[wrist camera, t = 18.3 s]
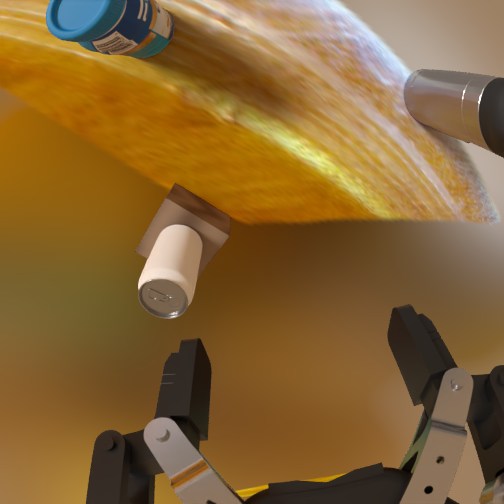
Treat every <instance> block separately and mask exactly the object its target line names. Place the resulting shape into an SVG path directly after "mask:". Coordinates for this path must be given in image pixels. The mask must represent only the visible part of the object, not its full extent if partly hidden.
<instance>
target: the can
mask: <svg viewBox="0 0 504 504" xmlns="http://www.w3.org/2000/svg"><path fill="white" fill-rule="evenodd" d="M201 254H202V241H201V238H200V236H199V235H198V234H197V232H196V231H194V230H193V229H192V228H190V227H188V226H185V225H171V226H168V227H166V228H165V229H164V230H163V231H162V232H161V233H160V235H159V236H158V238H157V240H156V243H155V245H154V247H153V249H152V251H151V253H150V256H149V258H148V260H147V262H146V265H145V267H144V269H143V272H142V274H141V277H140V279H139V283H138V289H139V292H138V298H139V301H140V304H141V305H142V307H143V308H144V309H145V310H146V311H147V312H149V313H150V314H152V315H154V316H157V317H160V318H166V319H169V318H175V317H178V316H180V315H182V314H183V313H184V312H185V311H186V309H187V307H188V305H189V304H190V303H191V301H192V298H193V295H194V291H195V285H196V280H197V275H198V270H199V264H200V259H201Z"/></svg>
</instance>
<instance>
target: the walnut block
mask: <svg viewBox="0 0 504 504" xmlns="http://www.w3.org/2000/svg"><path fill="white" fill-rule="evenodd" d="M230 222H231V217H230V216H228V215H226V214H225V213H223V212H222V211H220V210H218V209H217V208H215V207H214V206H212V205H210V204H209V203H207V202H205V201H204V200H202V199H201V198H199V197H197V196H196V195H194V194H192V193H191V192H189V191H188V190H186V189H184V188H183V187H181V186H179V185H178V184H176V183H175V184H174V186H173V187H172V189H171V190H170V192H169V194H168V195H167V197H166V199H165V200H164V202H163V204H162V205H161V207H160V209H159V210H158V212H157V214H156V216H155V217H154V219H153V221H152V223H151V224H150V226H149V228H148V230H147V231H146V233H145V235H144V237H143V238H142V240H141V242H140V244H139V246H138V248H137V250H136V252H137V253H138V254H140V255H142V256H144V257H145V258H147V259H148V258H149V256H150V253H151V251H152V249H153V247H154V245H155V243H156V240H157V238H158V236H159V235H160V233H161V232H162V231H163V230H164V229H165V228H166V227H168V226H171V225H185V226H188V227H190V228H192V229H193V230H194V231H196V232H197V234H198V235H199V236H200V238H201V241H202V254H201V259H200V264H199V270H198V275H197V278H198V277H199V275H200V274H201V273H202V271H203V270H204V269H205V267H206V266H207V265H208V264H209V262H210V261H211V260H212V258H213V257H214V256H215V254H216V253H217V252H218V250H219V249H220V248H221V246H222V245H223V244H224V243H225V241H226V240H227V239H228V238H229V236H230Z"/></svg>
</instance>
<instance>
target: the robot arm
mask: <svg viewBox="0 0 504 504" xmlns="http://www.w3.org/2000/svg"><path fill="white" fill-rule="evenodd" d="M404 99H405V104H406V106H407V109H408V111H409V112H410V114H411V115H412V116H413V118H414V119H416V120H417V121H418V122H420V123H422V124H425V125H428V126H430V127H432V128H433V129H434V130H437V131H440V132H442V133H445V134H447V135H450V136H452V137H455V138H457V139H459V140H462V141H464V142H467V143H470V142H471V143H473V144H476V145H478V146H480V147H482V148H485V149H487V150H489V151H491V152H493V153H495V154H497V155H499V156H501V157H503V158H504V78H501V77H495V76H489V75H481V74H474V73H466V72H456V71H444V70H428V69H421V70H417V71H416V72H414V73H412V74H411V75H410V76H409V78H408V80H407V82H406V84H405V89H404ZM388 342H389V346H390V348H391V350H392V352H393V355H394V357H395V360H396V362H397V364H398V367H399V369H400V371H401V374H402V376H403V379H404V381H405V384H406V386H407V389H408V391H409V394H410V397H411V399H412V402H413V404H414V406H416V405H419V404H423V406H424V411H423V413H422V416H421V419H420V422H419V424H418V427H417V430H416V432H415V435H414V438H413V440H412V443H411V445H410V447H409V450H408V451H407V453H406V455H405V457H404V458H403V460H402V462H401V464H400V467H399V469H396V468H387V467H383V466H382V463H378V464H375V465H371V466H368V467H364V468H360V469H356V470H353V471H351V472H349V473H347V474H345V475H343V476H341V477H338V478H336V479H334V480H332V481H329V482H311V481H289V482H280V483H270V484H268V485H269V488H268V489H265V490H262V491H260V492H258V493H256V494H254V495H252V496H251V497H249V498H248V499H247V500H245V501H244V500H243V499H242V498H241V497H240V496H239V495H238V494H237V493H236V492H235V490H234V489H233V488H232V487H231V486H230V485H229V484H228V483H227V482H226V481H225V480H224V479H223V478H222V477H221V476H220V475H219V473H218V472H217V471H216V470H215V469H214V467H213V466H212V465H211V464H210V463H209V462H208V460H207V459H206V458H205V457H204V455H203V454H202V453H201V452H200V451H199V443H200V441H201V440H202V441H203V440H208V424H209V423H208V422H209V406H210V390H211V374H212V373H211V372H212V371H211V363H210V360H209V357H208V355H207V353H206V350H205V348H204V346H203V343H202V341H201V339H200V338H196V339H185V340H182V341H181V344H180V350H179V353H171V355H170V356H169V358H168V360H167V361H166V362H165V366H164V371H163V376H162V381H161V383H162V384H161V386H160V392H159V397H158V403H157V409H156V414H155V417H154V420H152V421H151V422H150V423H149V424H148V425H147V426H146V428H145V429H143V430H141V431H138V432H134V433H130V434H126V435H121V434H120V433H119V432H117V431H114V430H108V431H105V432H103V433H101V434H100V435H99V436H98V437H97V439H96V441H95V445H94V451H93V456H92V462H91V469H90V476H89V484H88V491H87V499H86V504H154V490H155V475H156V474H160V473H164V472H165V473H166V475H167V476H168V478H169V479H170V481H171V486H172V488H173V490H174V492H175V493H176V494H177V496H178V497H179V498H180V500H181V501H182V502H183V504H459V503H457V502H456V501H454V500H452V499H450V498H449V497H447V495H448V493H449V491H450V488H451V485H452V483H453V480H454V477H455V474H456V471H457V468H458V465H459V462H460V459H461V456H462V453H463V449H464V445H465V442H466V438H467V431H466V430H465V428H464V427H465V423H466V422H467V423H468V426H469V429H470V432H471V435H472V438H473V441H474V444H475V447H476V451H477V454H478V457H479V460H480V464H481V468H482V472H483V476H484V479H485V484H486V485H485V487H484V488H483V490H482V492H481V496H480V499H479V502H480V504H504V365H500V366H496V367H495V368H494V369H493V370H492V371H491V373H490V374H484V375H470V373H468V372H467V371H466V370H464V369H462V368H458V367H457V365H456V363H455V362H454V360H453V358H452V356H451V354H450V352H449V351H448V349H447V347H446V345H445V343H444V342H443V340H442V339H441V336H440V335H439V333H438V332H437V330H436V328H435V326H434V325H433V323H432V321H431V320H429V319H428V318H427V317H426V316H424V315H423V314H419V315H417V313H416V312H415V310H414V308H413V307H412V306H411V305H410V304H408V305H404V306H400V307H396V308H393V310H392V314H391V319H390V324H389V328H388Z"/></svg>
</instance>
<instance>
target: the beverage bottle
mask: <svg viewBox="0 0 504 504" xmlns="http://www.w3.org/2000/svg"><path fill="white" fill-rule="evenodd" d="M46 23H47V27H48V29H49V31H50V32H51V33H52V34H53V35H54V36H55V37H57V38H59V39H61V40H65V41H72V42H78V43H79V44H80V45H81V46H83V47H84V48H86V49H88V50H90V51H94V52H99V53H103V54H108V55H125V56H131V57H135V58H147V57H151V56H153V55H156V54H157V53H159V52H161V51H162V50H163V49H164V48H165V47H166V46H167V45H168V44H169V42H170V41H171V39H172V37H173V34H174V28H175V26H174V20H173V18H172V16H171V14H170V13H169V12H168V11H167V10H165V9H164V8H162V7H161V6H160V5H159V4H158V3H157V2H156V1H155V0H50V2H49V5H48V8H47V12H46Z"/></svg>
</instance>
